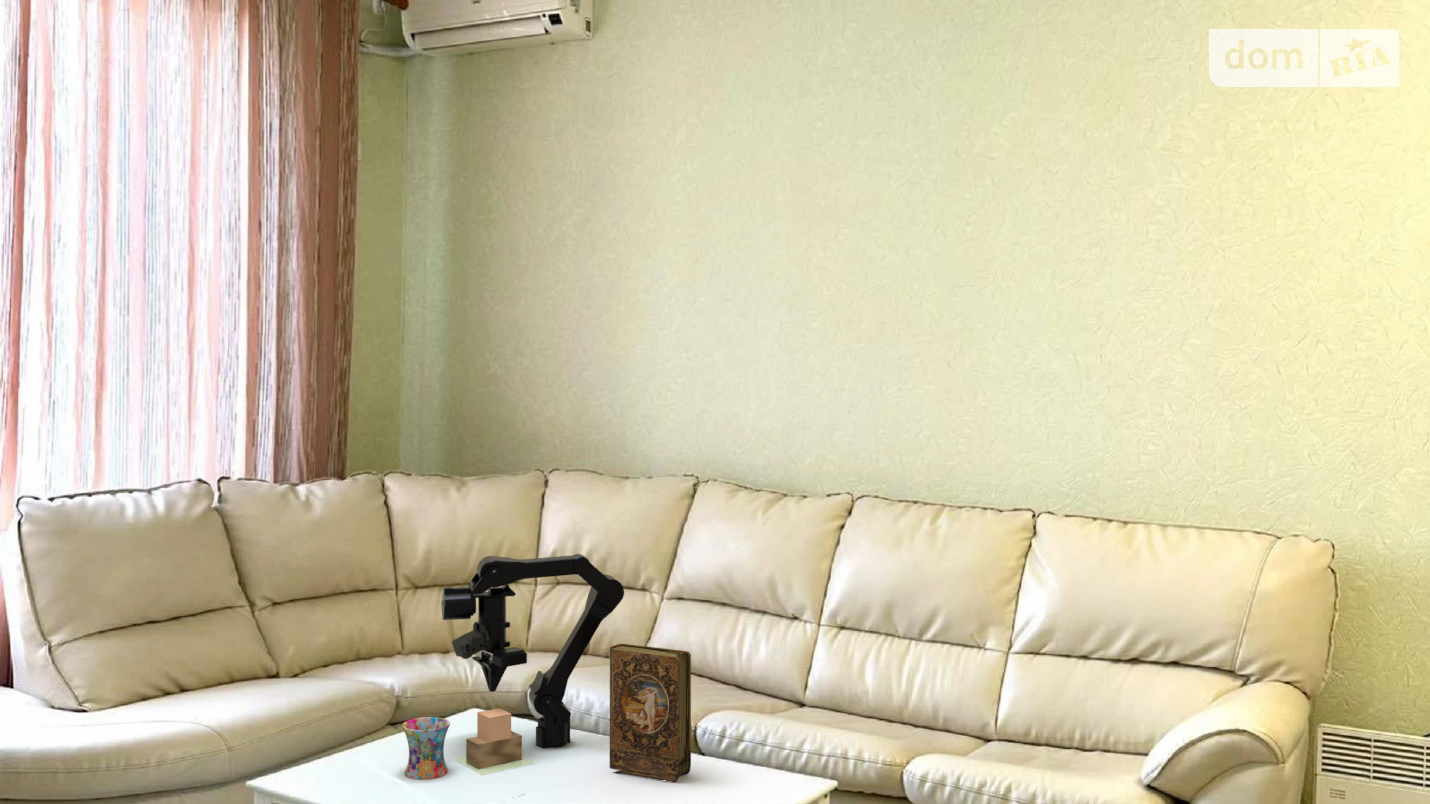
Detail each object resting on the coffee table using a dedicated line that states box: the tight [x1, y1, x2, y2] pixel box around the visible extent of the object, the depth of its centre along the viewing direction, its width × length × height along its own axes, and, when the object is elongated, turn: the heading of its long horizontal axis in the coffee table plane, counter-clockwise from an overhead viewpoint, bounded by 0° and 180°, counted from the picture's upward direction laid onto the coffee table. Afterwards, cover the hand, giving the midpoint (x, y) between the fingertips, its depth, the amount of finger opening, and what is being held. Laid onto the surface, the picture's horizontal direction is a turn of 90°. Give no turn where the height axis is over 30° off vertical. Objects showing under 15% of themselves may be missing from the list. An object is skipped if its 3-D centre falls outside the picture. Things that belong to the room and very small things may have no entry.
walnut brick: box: [465, 730, 523, 769], centre depth 269 cm, size 10×5×5 cm, turn 128°
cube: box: [476, 707, 512, 742], centre depth 268 cm, size 5×5×5 cm
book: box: [609, 643, 692, 783], centre depth 264 cm, size 16×6×25 cm, turn 65°
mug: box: [401, 716, 451, 781], centre depth 263 cm, size 12×9×11 cm
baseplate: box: [454, 756, 536, 776], centre depth 269 cm, size 12×12×1 cm
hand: (492, 691), depth 277 cm, fingers closed
